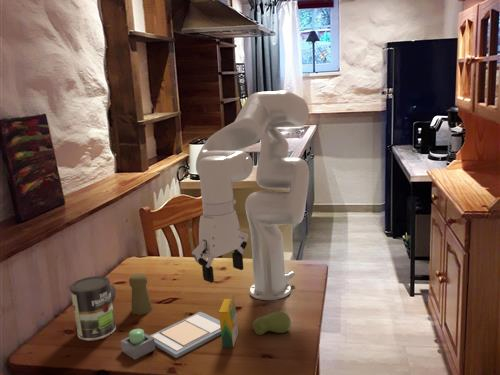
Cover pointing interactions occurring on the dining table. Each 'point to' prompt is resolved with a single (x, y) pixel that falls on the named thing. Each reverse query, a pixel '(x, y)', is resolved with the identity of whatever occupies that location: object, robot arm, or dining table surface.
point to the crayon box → (228, 322)
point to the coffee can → (93, 308)
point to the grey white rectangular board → (187, 334)
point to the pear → (272, 323)
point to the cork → (140, 294)
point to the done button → (136, 336)
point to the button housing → (138, 347)
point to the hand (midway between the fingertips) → (223, 274)
